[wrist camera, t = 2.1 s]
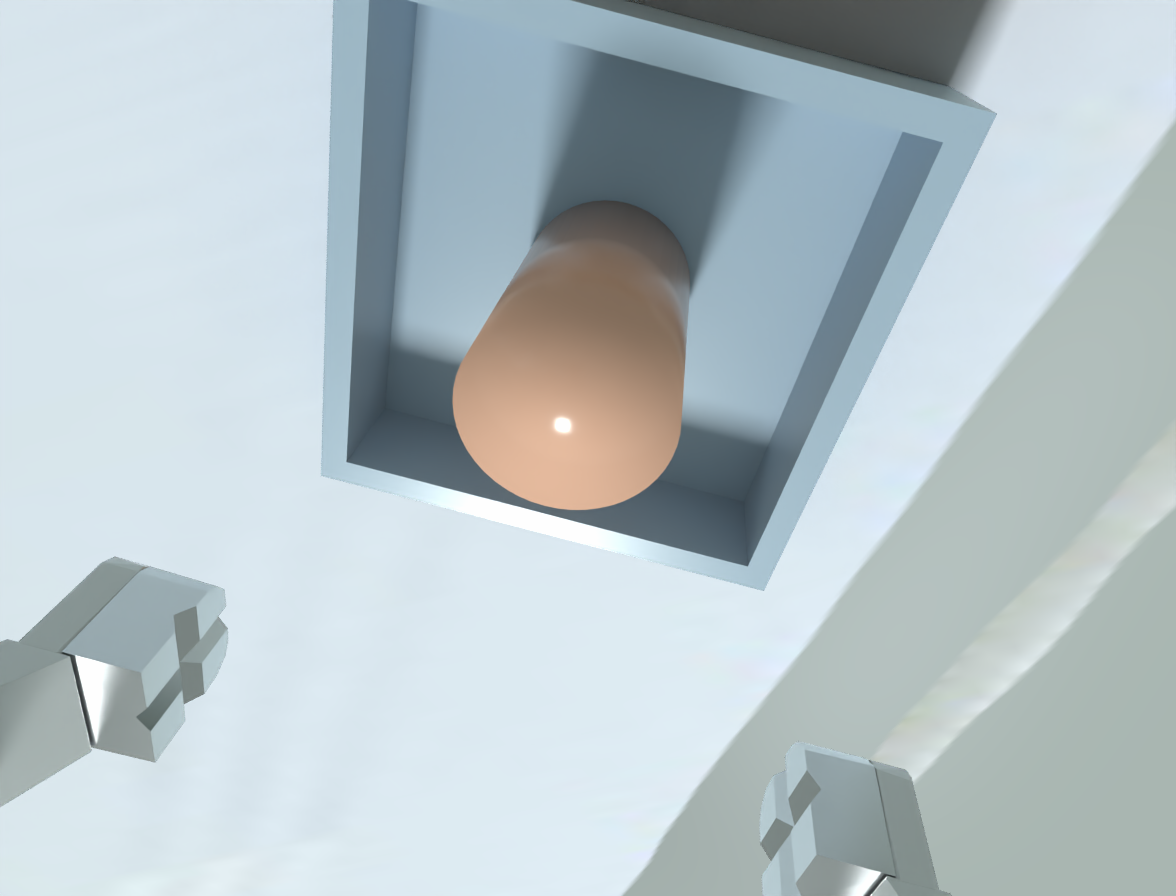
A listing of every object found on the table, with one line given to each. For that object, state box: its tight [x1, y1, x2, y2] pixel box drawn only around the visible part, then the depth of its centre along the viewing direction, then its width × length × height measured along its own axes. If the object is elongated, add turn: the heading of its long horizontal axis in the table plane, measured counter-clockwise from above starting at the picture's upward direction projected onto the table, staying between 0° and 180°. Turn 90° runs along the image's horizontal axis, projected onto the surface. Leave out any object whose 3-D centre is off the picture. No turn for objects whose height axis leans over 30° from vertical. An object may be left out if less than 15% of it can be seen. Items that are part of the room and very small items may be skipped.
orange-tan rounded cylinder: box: [452, 200, 690, 510], centre depth 20 cm, size 5×5×8 cm
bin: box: [321, 0, 997, 591], centre depth 22 cm, size 15×15×4 cm
